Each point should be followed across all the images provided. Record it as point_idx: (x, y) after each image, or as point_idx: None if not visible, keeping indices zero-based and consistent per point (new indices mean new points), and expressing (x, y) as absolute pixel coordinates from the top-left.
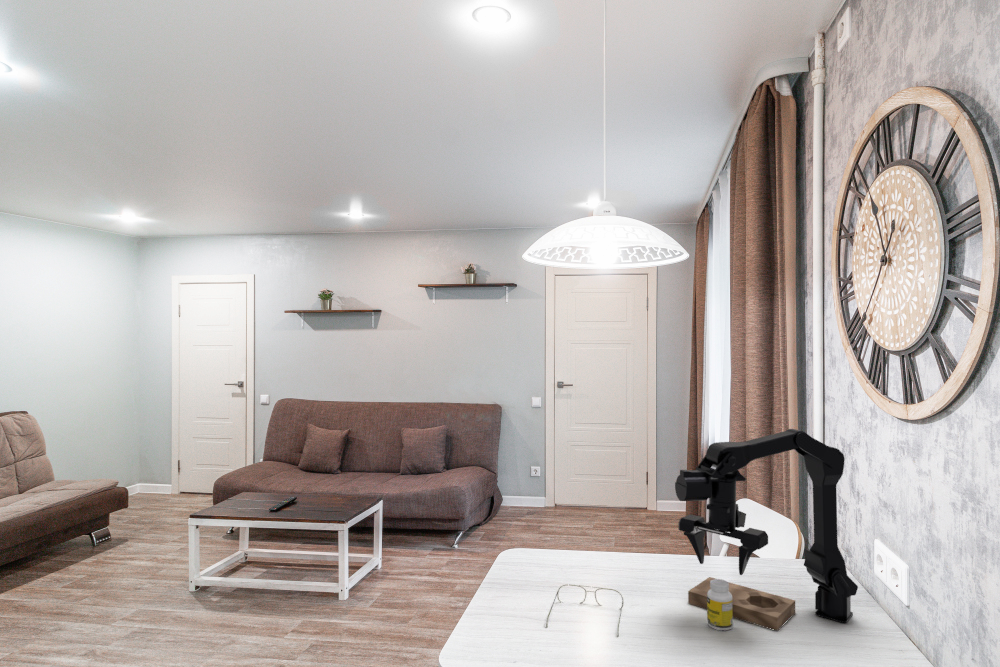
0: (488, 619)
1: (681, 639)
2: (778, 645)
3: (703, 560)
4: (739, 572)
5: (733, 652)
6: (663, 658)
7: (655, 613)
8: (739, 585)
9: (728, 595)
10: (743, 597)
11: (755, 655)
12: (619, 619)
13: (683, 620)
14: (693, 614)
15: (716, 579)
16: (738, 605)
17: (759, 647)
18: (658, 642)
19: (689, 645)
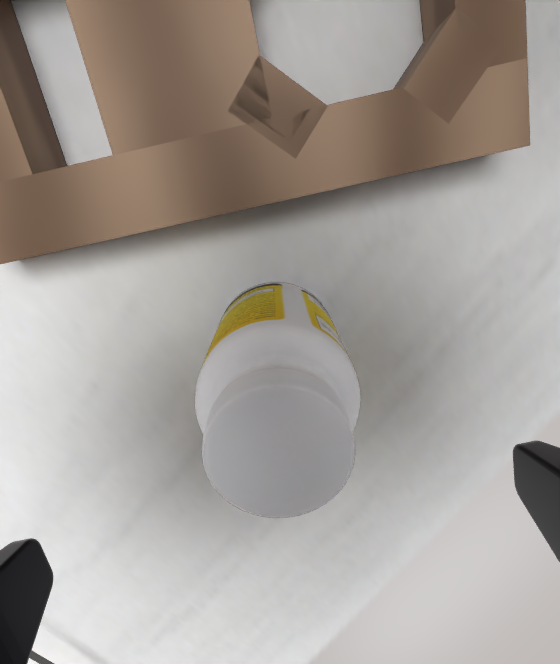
0: None
1: (261, 542)
2: (547, 285)
3: (18, 565)
4: (536, 520)
5: (441, 475)
6: (310, 660)
7: (38, 465)
8: None
9: (350, 410)
10: (228, 35)
11: (511, 431)
12: None
13: (151, 422)
14: (129, 340)
15: (221, 427)
16: (287, 192)
17: (495, 366)
18: (229, 610)
19: (307, 551)
